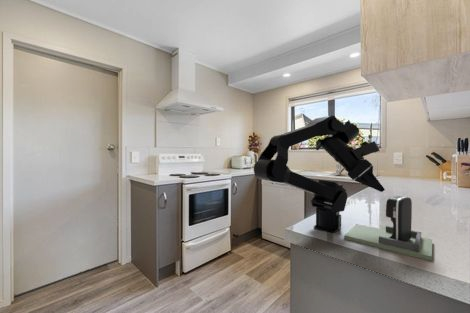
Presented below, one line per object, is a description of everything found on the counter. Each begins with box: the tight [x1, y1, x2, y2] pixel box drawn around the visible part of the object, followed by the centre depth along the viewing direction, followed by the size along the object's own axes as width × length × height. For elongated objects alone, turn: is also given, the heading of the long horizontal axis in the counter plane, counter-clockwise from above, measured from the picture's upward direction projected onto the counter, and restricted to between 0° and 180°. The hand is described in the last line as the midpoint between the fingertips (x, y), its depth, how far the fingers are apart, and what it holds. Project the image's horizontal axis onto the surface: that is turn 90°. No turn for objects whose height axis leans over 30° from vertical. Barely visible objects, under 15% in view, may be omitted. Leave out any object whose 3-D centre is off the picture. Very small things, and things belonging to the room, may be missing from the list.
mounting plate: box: [343, 223, 433, 262], centre depth 58 cm, size 18×13×2 cm
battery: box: [385, 195, 413, 242], centre depth 56 cm, size 7×4×11 cm, turn 122°
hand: (381, 188), depth 63 cm, fingers open, 9 cm apart
